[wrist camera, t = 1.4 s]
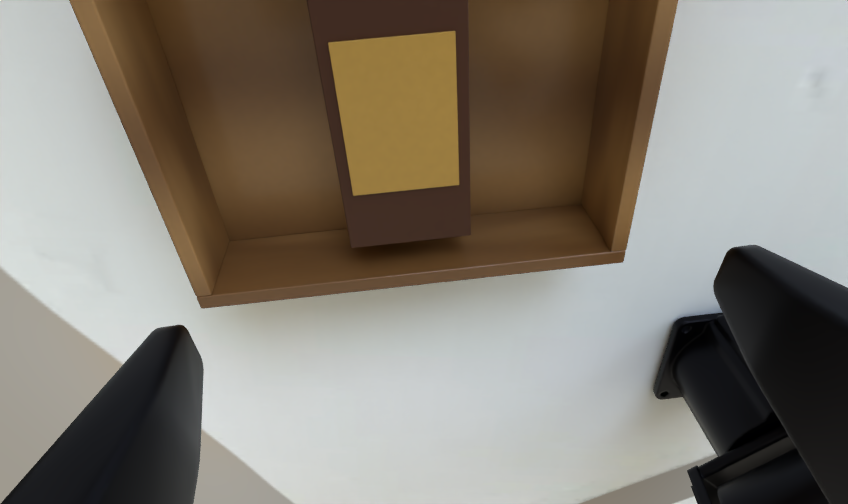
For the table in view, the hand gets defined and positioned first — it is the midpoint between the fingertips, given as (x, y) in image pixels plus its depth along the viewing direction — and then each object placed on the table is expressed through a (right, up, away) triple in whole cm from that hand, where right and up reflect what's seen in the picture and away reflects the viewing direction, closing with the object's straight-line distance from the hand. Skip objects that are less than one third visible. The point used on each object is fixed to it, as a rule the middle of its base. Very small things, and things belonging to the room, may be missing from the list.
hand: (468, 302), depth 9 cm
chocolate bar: (-2, +7, +10) cm, 13 cm away
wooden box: (-2, +7, +11) cm, 13 cm away
